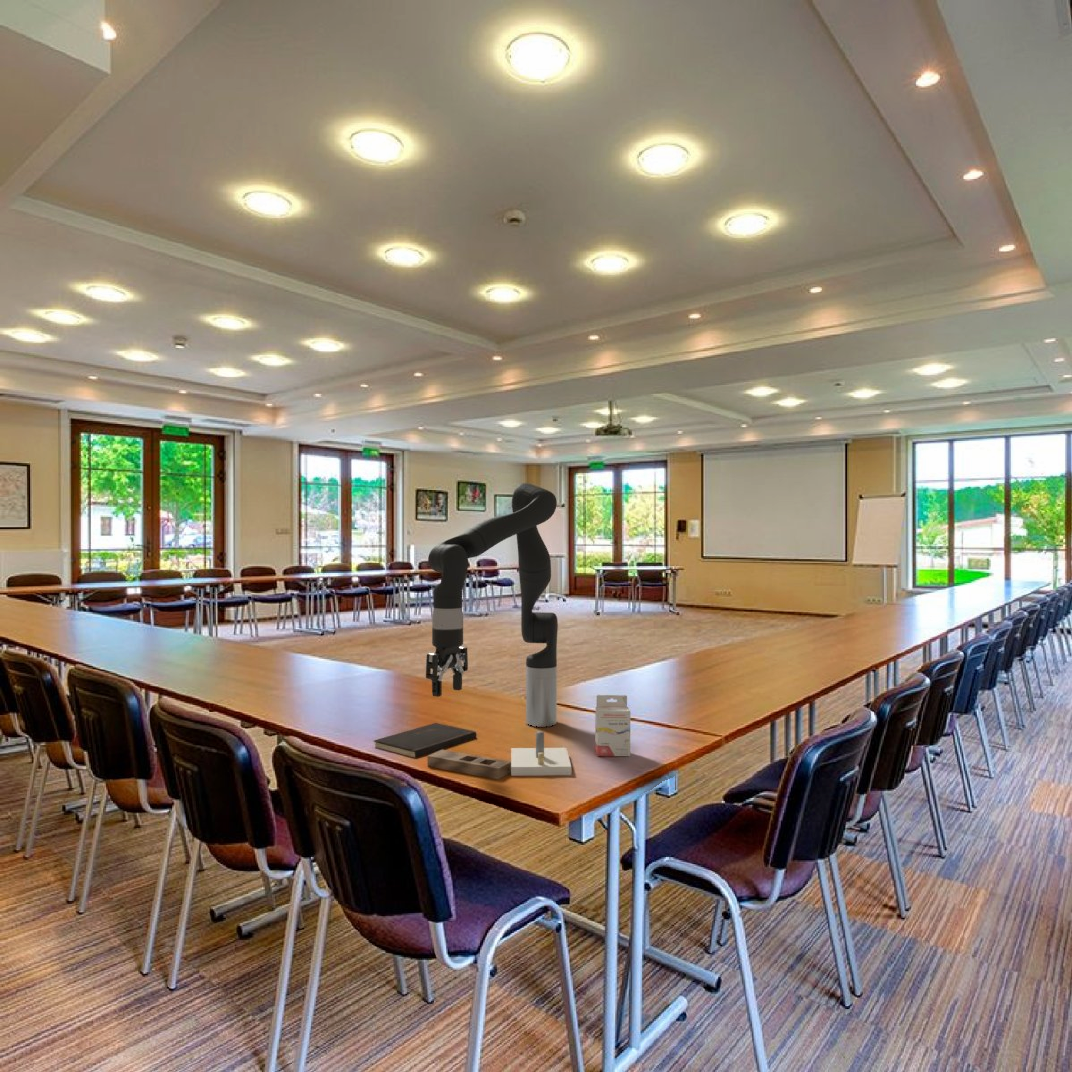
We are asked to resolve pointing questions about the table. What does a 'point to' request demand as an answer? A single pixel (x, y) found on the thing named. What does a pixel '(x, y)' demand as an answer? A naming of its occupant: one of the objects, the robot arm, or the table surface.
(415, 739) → the hardcover book
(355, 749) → the table surface
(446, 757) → the walnut bar
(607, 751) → the ink cartridge box
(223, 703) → the table surface
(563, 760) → the post base
